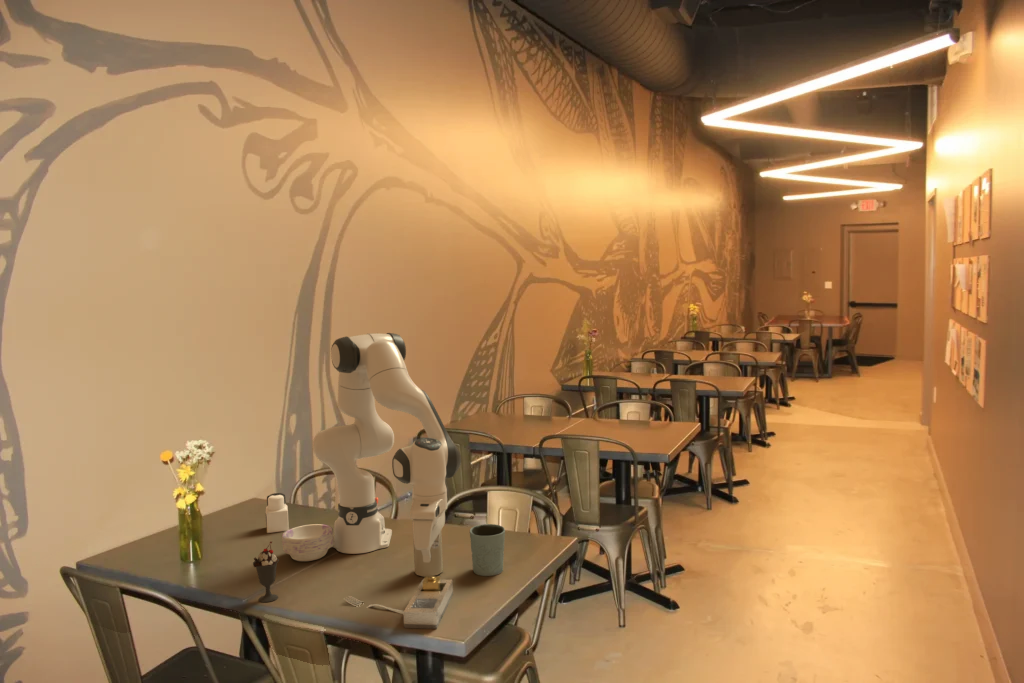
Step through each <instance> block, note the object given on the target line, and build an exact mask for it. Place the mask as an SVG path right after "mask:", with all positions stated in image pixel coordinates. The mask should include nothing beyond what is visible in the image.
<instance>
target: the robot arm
mask: <svg viewBox="0 0 1024 683" xmlns="http://www.w3.org/2000/svg"><path fill="white" fill-rule="evenodd" d="M406 346H407V345H406V343H405V341H404V339H403V338H402V337H401V335H400V334H397V333H394V332H393V333H391V332H387V333H378V332H377V333H366V334H359V335H358V334H357V335H353V336H343V337H340V338H336V339H335V340H334V341H333V344H331V348H330V359H331V362H332V365H333V366H332V367H333V368H334V369H336V371H337V372H339V373H338V382H337V384H338V385H337V386H338V387H337V407H338V409H339V410H340V411H341V413H343V414H345V415H346V416H349V417H351V418H354V423H352V424H346V425H344V424H343V425H337V426H332V427H328V428H326V429H323V430H320V431H318V432H316V435H315V436H314V438H313V442H312V450H313V453H314V455H315V457H316V458H317V460H319V461H320V462H321V463H323V464H324V465H326V466H327V467H328V468H330V469H331V472H332V473H333V474H334V476H335V479H336V482H337V490H338V491H337V492H338V504H337V505H338V506H337V512H338V513H337V514H338V517H337V518H336V520H335V521H334V529H333V536H334V545H333V546H332V547H331V548H333V549H336V551H338V552H340V553H342V554H353V555H355V554H366V553H369V552H373V551H377V550H379V549H385V548H388V547H389V546H390V542H391V538H392V534H393V530H392V529H391V528H387V527H386V526H385V525H386V524H385V517H384V516H383V515H382V514H381V513H380V512H379V509H378V506H379V505H378V503H379V497H376V492H375V488H376V487H375V478H374V476H373V475H372V473H371V472H369V471H367V470H365V469H362V468H359V467H357V464H356V461H357V460H361V459H367V458H372V457H373V458H374V457H378V456H380V455H383V454H386V453H388V452H390V451H391V450H392V448H394V447H393V446H394V444H395V434H394V433H395V432H394V431H393V428H392V427H391V426H390V425H389V424H388V423H387V422H385V421H384V420H383V419H382V418H381V416H380V415H379V414H378V412H377V408H376V402H377V403H378V404H380V405H381V406H382V407H383V408H387V409H389V410H393V411H397V412H403V413H406V414H409V415H412V416H414V417H415V418H417V419H418V421H419V422H421V424H422V427H423V429H424V431H425V434H426V435H427V437H420V438H418V439H415V440H414V441H413V443H412V444H411V445H409V446H405V447H402V448H399V449H398V450H396V452H395V453H394V455H393V457H392V464H391V465H392V468H391V469H392V473H393V476H394V477H395V479H397V481H399V482H400V483H402V484H410V485H412V492H411V494H412V495H411V496H412V499H411V508H410V511H409V518H410V520H412V538H414V540H413V547H414V546H415V548H416V550H421V552H422V555H423V562H428V563H429V562H430V560H431V554H430V548H431V547H432V548H436V549H437V548H438V547H439V538H440V531H441V532H442V530H443V527H444V526H445V523H446V510H447V509H448V489H447V485H446V479H451V478H453V477H454V476H455V475H456V474H457V472H458V471H459V469H460V467H461V465H462V457H461V456H462V455H461V453H460V450H459V449H458V446H457V445H456V443H455V442H454V441H453V440H452V438H451V436H450V435H449V433H448V431H447V429H446V427H445V424H444V423H443V421H442V419H441V417H440V415H439V413H438V411H437V409H436V407H435V405H434V403H433V402H432V400H431V398H430V397H429V395H428V393H427V392H426V391H425V390H423V389H421V388H420V387H419V386H417V385H416V384H415V382H414V381H413V380H412V378H411V376H410V374H409V372H408V368H407V364H406V363H405V359H406V355H407V347H406Z"/></svg>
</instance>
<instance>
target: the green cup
mask: <svg viewBox="0 0 1024 683" xmlns="http://www.w3.org/2000/svg"><path fill="white" fill-rule="evenodd" d="M505 537H506V529H505V527H504V526H502V525H500V524H495V523H484V524H478V525H474V526H472V527H471V528H470V529H469V538H470V550H471V558H472V559H471V561H472V570H473V573H474V574H476V575H477V576H481V577H491V576H492V577H493V576H497V575H500V574H501V573H503V572H504V560H505V559H504V556H505V553H504V552H505Z"/></svg>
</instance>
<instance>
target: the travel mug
mask: <svg viewBox="0 0 1024 683" xmlns="http://www.w3.org/2000/svg"><path fill="white" fill-rule="evenodd" d="M442 536H443V535H442V530H441V531H440V538H439V547H438V548H437V549H436V548H432V547H431V548H430V554H431V560H430V562H429V563H428V562H423V555H422V552H421V550H416V548H415V546H414V545H413V559H414V563H413V564H414V574H416V575H417V576H419V577H423V578H425V577H428V576H439V574H441V573H442V572H443V569H444V568H443V567H444V565H443V563H444V562H443V542H442V541H443V539H442ZM412 538H413V537H412ZM413 541H414V538H413Z"/></svg>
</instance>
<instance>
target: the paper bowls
mask: <svg viewBox="0 0 1024 683" xmlns="http://www.w3.org/2000/svg"><path fill="white" fill-rule="evenodd" d="M333 528H334V527H332V526H331V525H328V524H323V523H321V524H320V523H319V524H318V523H315V524H304V525H300V526H296V527H292V528H289V530H287V531H283V533H282V535H281V542H282V551H283V552H284V553H285V554H287V555H290V557H291V559H293V560H294V561H295V562H312V561H313V562H314V561H316V560H319V559H321V558H323V557H325V556H326V554H327V553H328V551H329V549H331V548H333V547H332V546H333V545H334V529H333Z"/></svg>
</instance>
